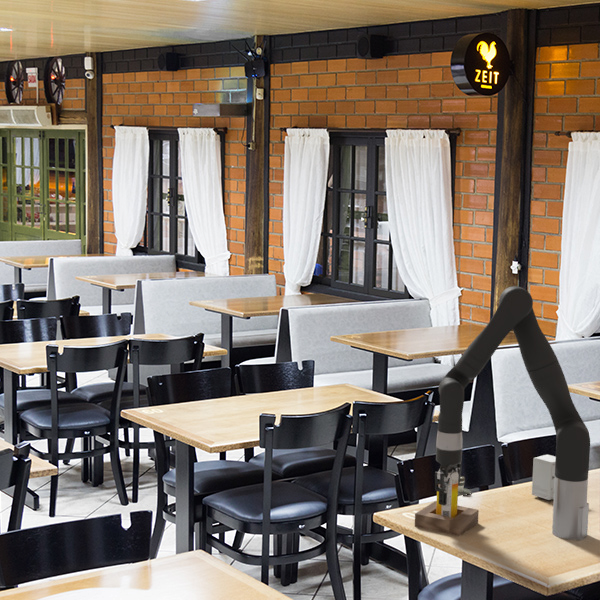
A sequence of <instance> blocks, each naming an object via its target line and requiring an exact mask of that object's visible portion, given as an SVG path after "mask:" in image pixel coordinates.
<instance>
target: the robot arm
mask: <svg viewBox="0 0 600 600" xmlns="http://www.w3.org/2000/svg"><path fill="white" fill-rule="evenodd" d="M533 300H534V299H533V297H532V295H531V293H530V292H529V291H528V290H526V289H525V288H523V287H521V286H517V285H516V286H515V285H513V286H509V287H506V288H505V289H503V291H502V292H501V294H500V295H499V299H498V306H497V308H496V310H495V312H494V314H493V316H492V317H491V319H490V320H489V322H488V323H487V324H486V326H485V327H484V328H483V329H482V331H481V332H480V333H479V334H478V335H477V336H476V337H475V338H474V339H473V341H472V342H471V343H470V344H469V345H468V347H467V348H466V349H465V350H464V352H463V353H462V355H461V356H460V357H459V359H458V361H457V362H456V363H455V364H454V365H453V367H451V369H450V370H448V372H447V373H446V374H445V376H443V378H442V379H441V380H440V383H439V384H438V393H439V413H438V419H437V434H436V444H435V445H436V447H435V448H436V449H435V461H436V462H437V463H439V464H440V466H439V467H440V468H439V469H440V471H439V470H438V471H435V472H434V490H435V492H437V491H438V492H439V504H440V505H446V504H447V489H448V485H450V478H448V481H447V482H444V478H447V477H448V473H451V474H450V476H451V475H452V473H454V471H455V472H456V471H457V472H458V474H459V477H458V483H460V478H461V476H462V465H463V464H462V462H463V460H462V459H463V409H464V402H465V389H466V387H467V386H468V385H469V383H470V382H471V381H472V380H473V379H476V378H477V376H478V375H479V374H480V373H481V372H482V370H483V369H484V368H485V366H486V365H487V363H488V362H489V361H490V359H491V358H492V357H493V355H494V354H495V352H496V351H497V349H498V348H499V346H500V344H501V343H503V341H504V340H505V338H506V337H507V336H508V335H509V334H510V332H511V331H513V333H514V336H515V339H516V340H517V343H518V344H517V345H518V348H519V351H520V356H521V359H522V361H523V364H524V366H525V370H526V371H527V374H528V377H529V379H530V382H531V383H532V385H533V387H534V389H535V391H536V393H537V394H538V396H539V398H540V400H542V402H543V403H544V405H545V407H546V408H547V411H548V412H549V415H550V418H551V421H552V423H553V426H554V427H553V428H554V430H555V435H556V438H555V439H556V442H555V444H556V446H555V457H556V462H555V480H554V499H553V504H552V506H553V508H552V526H551V529H552V532H551V533H552V535H553V536H555V537H557V538H559V539H565V540H571V541H574V540H576V541H577V540H578V541H582V540H583V539H585V538H586V537H587V536H588V530H589V529H588V526H589V512H590V511H589V510H590V509H589V507H590V504H589V502H588V487H589V486H588V484H589V483H588V482H589V471H590V457H591V456H590V454H591V437H590V431H589V429H588V427H587V426H586V424H585V422H584V421H583V419H582V417H581V416H580V414H579V411H578V410H577V408H576V406H575V404H574V402H573V400H572V396H571V394H570V393H571V392H570V390H569V386H568V383H567V380H566V377H565V374H564V371H563V368H562V366H561V364H560V362H559V360H558V357H557V355H556V353H555V351H554V349H553V348H552V346H551V343H550V342H549V341H548V339H547V337H546V336H545V335H544V332H543V331H542V328H541V327H540V325H539V322H538V319H537V317H536V315H535V314H536V313H535V311H534V307H533V305H534V301H533ZM438 484H439V486H438ZM444 484H445V486H444Z"/></svg>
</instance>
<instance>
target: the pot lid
mask: <svg viewBox="0 0 600 600" xmlns="http://www.w3.org/2000/svg"><path fill="white" fill-rule="evenodd" d="M465 481H466V477H465V476H463V475H461V478H460V483H458V496H464V495H470V494H471V493H472V490H471V489H468V488H467V487H466V488H465V487H464V486H465Z"/></svg>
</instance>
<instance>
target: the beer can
mask: <svg viewBox="0 0 600 600" xmlns="http://www.w3.org/2000/svg"><path fill="white" fill-rule="evenodd" d="M439 471H440V468H439V469H438V472H439ZM450 474H451V473H448V477H447V478H444V482H447V481H448V478H450V485H448V489H447V504H446V505H440V504H439V492H438V491H436V501H437V505H436V514H437V515H442V516H447V517H452V518H455V517H456V516H457V506H458V502H459V501H458V497H459V495H458V477H459V474H458V472H457V471H456V472H455V471H454V473H452V475H451V476H450ZM438 486H439V484H438ZM444 486H445V484H444Z"/></svg>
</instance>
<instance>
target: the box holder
mask: <svg viewBox="0 0 600 600" xmlns="http://www.w3.org/2000/svg"><path fill="white" fill-rule="evenodd" d="M436 505H437V500H435V501H433V502H431V503H430V504H428V505H427V506H425V507H423V508H422V509H420V510H419V511H417V512H415V513H414V527H415V528H422V529H426V530H430V531H435V532H439V533H443V534H450V535H452V536H453V535H454V536H458V537H459V536H461V535H463V534H464V533H466V532H467V531H469V530H470V529H472V528H473V527H475V526H477V525H478V524H479V512H480V510H479V509H476V508H473V507H466V506H463V505H461V506H460V505H457V516H456V517H455V518H452V517H447V516H442V515H437V514H436Z"/></svg>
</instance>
